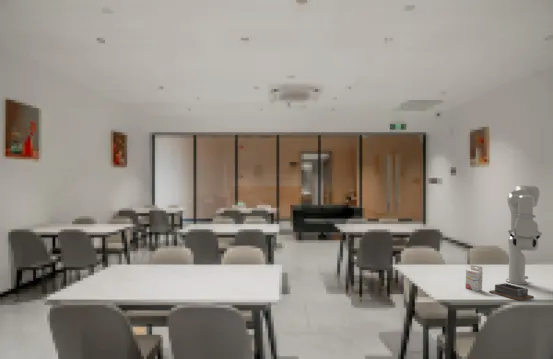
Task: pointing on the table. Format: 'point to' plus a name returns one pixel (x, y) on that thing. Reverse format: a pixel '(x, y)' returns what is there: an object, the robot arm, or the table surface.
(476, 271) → the ink cartridge box
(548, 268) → the table surface
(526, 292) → the dock
